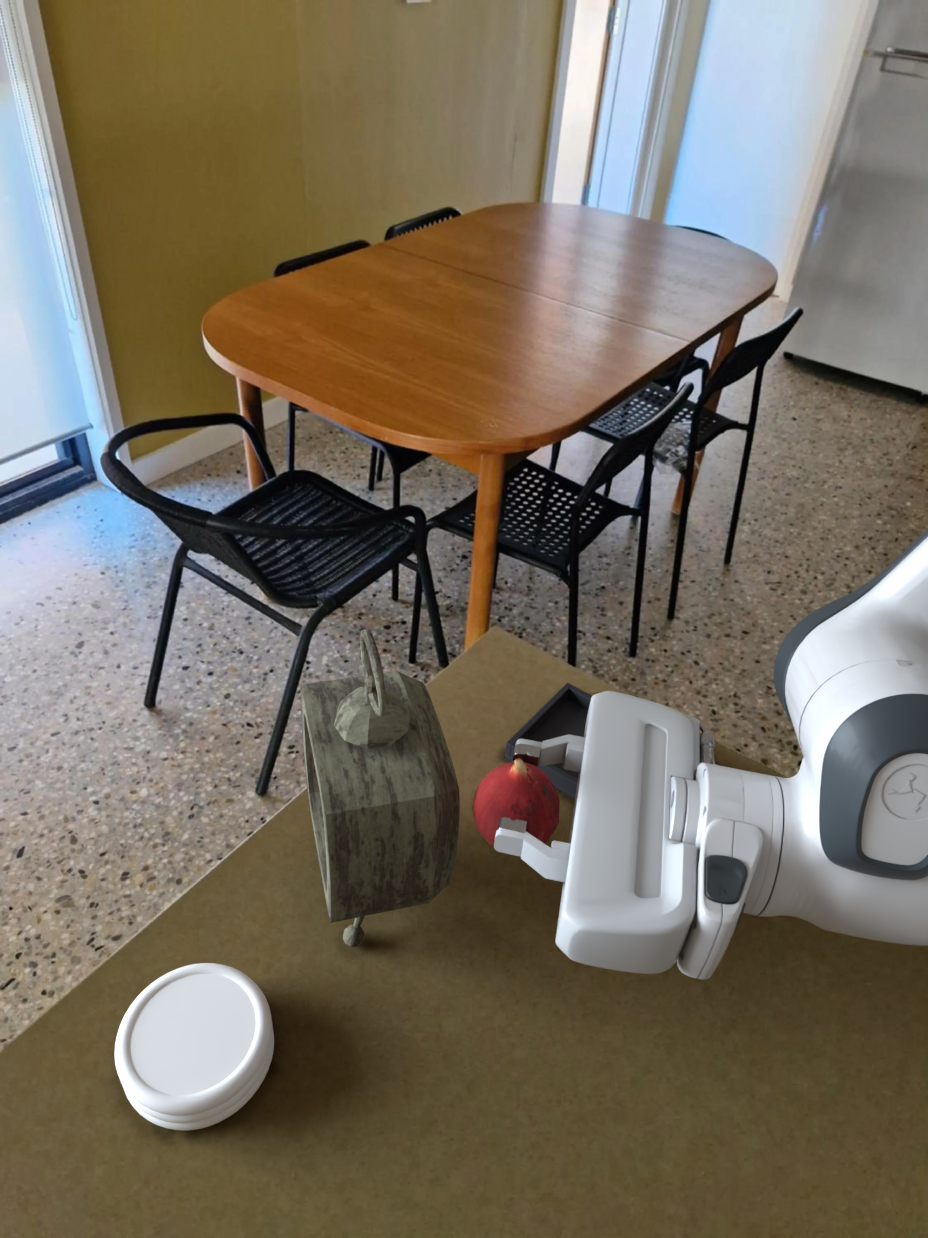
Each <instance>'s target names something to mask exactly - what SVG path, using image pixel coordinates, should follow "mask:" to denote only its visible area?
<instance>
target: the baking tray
mask: <svg viewBox="0 0 928 1238" xmlns="http://www.w3.org/2000/svg"><path fill="white" fill-rule="evenodd" d="M592 696H593V694H592V695H591V694H590V693H588V692H586V691H584V690H582V689H581V688H579V687H577V686H575V685H573V684H571V683H569V682H566V683H565V684H564V685H563V686H562V687H561V689H559V690H558V691H557V692H556V693H555V694H554V695H553V696H552V697H551V698H550V699H549V700H548V701H547V702H546V703H545V704H544V705H543V706H542V707H541V708H540V709H538V711H537V712H536V713H535V714H534V715H533V716H532V717H531V718H530V719H529V720H528V721H527V722H526V723H525V724H524V725H522V727H521V728H520V729H519V730H518V731H517V732H515V734H514V735H512V737H511V738H509V740H507V742H505V750H504V755H503V757H504V758H505V759H506V760H509V762H512V761H513V755H514V749H515V745H516V741H517V740H518V739H521V738H522V739H527V740H533V741H538V742H543V741H545V740H549V739H553V738H556V737H560V736H564V735H568V734H570V735H575V736H580V737H584V732H585V725H586V719H587V714H588V709H589V705H590V701H591V697H592ZM563 765H564V763H557V764H551V765H545V766H538V768H539V769H540V770H542V771H543V772H544V773H545V774H546V775H547V776H548V777H549V778H550V780H551V782H552V784H553V786H554V788H555V789H556V790H558V791H560V792H562V793H564V794H565V795H567V796H568V797H570V798H572V799H574V800H575V796H576V789H577V782H578V775H579V772H576V771H571V770H566V769H564V768H563ZM715 765H720V766H723V765H722V764H720V763H719V762H717V761H715Z"/></svg>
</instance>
